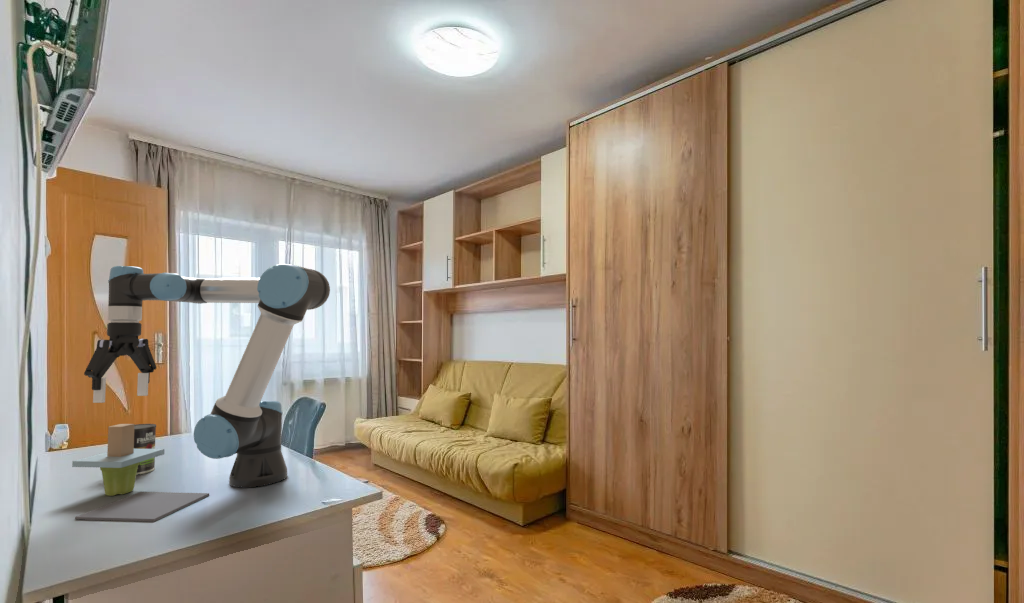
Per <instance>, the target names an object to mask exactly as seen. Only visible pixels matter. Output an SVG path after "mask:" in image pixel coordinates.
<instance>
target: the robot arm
mask: <svg viewBox="0 0 1024 603" xmlns="http://www.w3.org/2000/svg"><path fill="white" fill-rule="evenodd" d="M330 293H331V286H330V283H329V281H328V279H327V277H326V276H325V275H324V274H323V273H321V272H320V271H318V270H316V269H311V268H307V267H303V266H301V265H296V264H294V263H293V264H292V263H279V264H275V265H272V266H271V267H270V266H269V267H268V268H267V269H266V270H264V272H263V273H261V275H260V277H190V276H189V277H187V276H181V275H180V274H179V273H176V272H175V273H174V272H162V273H161V272H160V273H144V269H143V268H142V267H139V266H130V265H129V266H128V265H116V266H112V267H111V268H110V270H109V278H108V300H107V302H108V305H107V321H109V322H107V325H106V328H107V329H106V335H107V336H108V337H109V339H98V340H97V342H96V343H97V344H96V349H95V351H94V352H93V354H92V357H91V359H90V360H89V362H88V364H87V366H86V368H85V370H84V373H83V375H84V376H87V378H88V379H89V378H91V389H92V392H93V393H92V394H93V395H92V396H93V397H92V403H93V404H94V403H95V404H96V403H97V404H98V403H99V404H100V403H101V404H103V403H106V388H107V387H106V386H107V377H104V375H105V374H106V373H107V371H108V370H109V369H110V367H111V366H112V365H113V363H115V361H116V360H117V358H118V359H119V357H120V356H121V357H122V356H123V357H124V356H128V357H129V358H130V359H131V360H132V362H133V363H134V364H135V366H136V367H137V369H138V370H139V371H140V372H138V373H137V391H136V392H137V393H136V396H137V397H138V396H139V397H142V396H143V397H147V396H149V384H150V378H151V377H150V376H151V373H154V372H155V370H156V369H157V365H156V363H155V360H154V357H153V353H152V351H151V349H150V347H149V339H148V338H139V336H141V335H142V323H141V322H140V321H142V320H143V301H163V302H178V303H190V304H191V303H192V304H207V303H212V304H213V303H214V304H215V303H216V304H217V303H218V304H219V303H220V304H257V307H258V310H259V312H260V315H259V317H258V319H257V322H256V324H255V326H254V329H253V332H252V333H251V336H250V338H249V340H248V342H247V345H246V347H245V349H244V352H243V354H242V356H241V359H240V361H239V364H238V366H237V368H236V370H235V373H234V375H233V377H232V380H231V381H230V385H229V387H228V388H227V392H226V394H225V395H224V396H221V397H219V398H218V399H216V400H215V403H214V405H213V406H212V409H211V412H210V414H207V415H204V416H203V417H201V418H200V419H199V420H198V421H196V422H197V423H196V424H195V425H194V426H195V427H194V430H193V440H194V443H195V444H196V448H197V450H198V451H199V452H200V453H201V454H202V455H204V456H205V457H207V458H209V459H213V460H218V459H224V458H229V457H232V456H234V455H235V454H236V456H235V460H234V463H233V465H232V468H231V470H230V474H229V480H228V482H229V486H231V487H235V488H257V487H256V486H258V487H264V486H269V485H273V484H276V483H275V482H277V483H279V482H282V481H284V480H285V479H286V478H288V467H287V464H286V461H285V458H284V456H283V455H284V454H283V452H282V424H283V422H282V421H283V419H282V418H283V410H282V404H281V402H280V401H278V400H262V399H263V397H264V394H265V392H266V390H267V388H268V386H269V383H270V381H271V379H272V376H273V374H274V371H275V369H276V367H277V364H278V362H279V360H280V358H281V355H282V353H283V350H284V349H285V346H286V343H287V341H288V340H289V337H290V335H291V332H292V331H293V328H294V325H296V324H298V323H301V322H303V319H304V317H305V315H306V313H307V311H310V310H316V309H318V308H320V307H322V306H323V305H324V304H325V303H326V302H327V301H328V299H329V297H330ZM284 478H285V479H284ZM283 479H284V480H283ZM281 480H282V481H281ZM278 481H279V482H278ZM272 483H273V484H272ZM268 484H269V485H268ZM263 485H264V486H263Z"/></svg>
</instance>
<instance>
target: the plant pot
mask: <svg viewBox="0 0 1024 603" xmlns="http://www.w3.org/2000/svg"><path fill="white" fill-rule="evenodd" d="M138 465H139V462H138V463H135V464H132V465H129V466H126V467H122V468H103V467H99V470H100V471H101V476H102V482H103V487H104V495H105V496H109V497H112V496H113V497H114V496H116V495H126V494H128V493H131V492H132V491H134V489H135V483H136V479H137V478H136V477H137V475H136V473H137V468H138Z"/></svg>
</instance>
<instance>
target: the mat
mask: <svg viewBox="0 0 1024 603" xmlns="http://www.w3.org/2000/svg"><path fill="white" fill-rule="evenodd" d="M209 496H210V492H171V491H169V492H167V491H166V492H165V491H164V492H163V491H139V492H136V493H133V494H130V495H128V496H126V497H122V498H120V499H119V500H118V499H117V500H115V501H113V502H110V503H107V504H105V505H103V506H100V507H97V508H94V509H92V510H90V511H87V512H85V513H81V514H79V515H77V516H75V517H74V520H75V519H85V520H84V521H87V520H88V521H110V520H111V522H112V520H113V521H115V522H116V521H117V522H149V523H151V522H153V523H155V522H157V521H158V520H161V519H163V518H165V517H167V516H169V515H171V514H174V513H175V511H176V512H178V511H180V510H182V509H185V508H186V507H188V506H190V505H192V503H193V504H195V503H196V502H199V501H202V500H203V499H205V498H208V497H209ZM181 508H182V509H181ZM179 509H180V510H179ZM177 510H178V511H177ZM173 512H174V513H173Z"/></svg>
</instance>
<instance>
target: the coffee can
mask: <svg viewBox="0 0 1024 603" xmlns="http://www.w3.org/2000/svg"><path fill="white" fill-rule="evenodd" d="M156 431H157V424H154V423H138V424H136V423H135V424H134V449H156ZM155 459H156V457H154V458H151V459H148V460H145V461H141V462H139V465H138V468H137V473H136V476H137V475H138V474H140V475H144V474H148V473H151V472H153V471H154V470H156V468H155V466H156V465H155V462H156V460H155ZM138 476H139V475H138Z"/></svg>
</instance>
